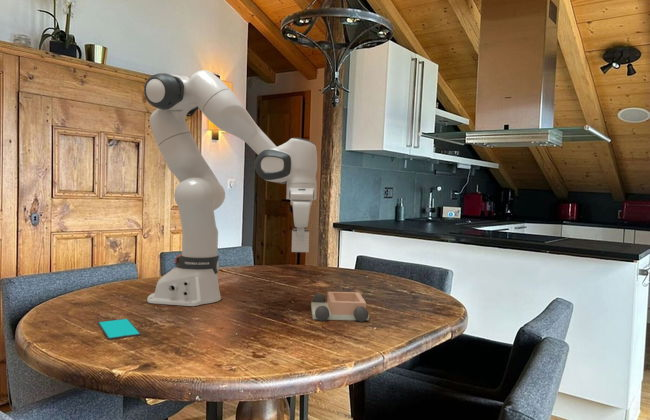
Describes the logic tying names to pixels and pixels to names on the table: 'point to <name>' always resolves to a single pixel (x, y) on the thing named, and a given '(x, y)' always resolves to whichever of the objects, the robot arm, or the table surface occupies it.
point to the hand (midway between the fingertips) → (300, 240)
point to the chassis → (339, 307)
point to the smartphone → (118, 329)
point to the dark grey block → (300, 245)
